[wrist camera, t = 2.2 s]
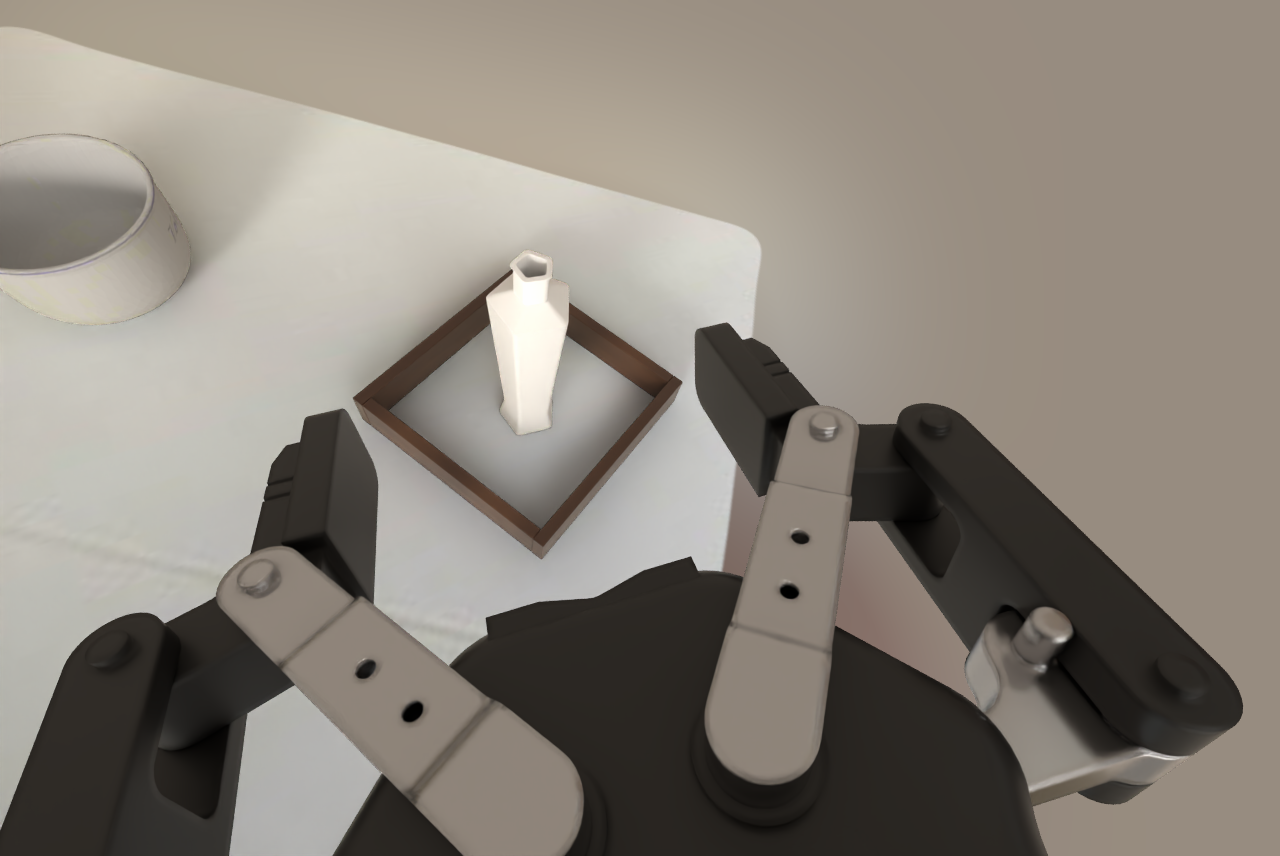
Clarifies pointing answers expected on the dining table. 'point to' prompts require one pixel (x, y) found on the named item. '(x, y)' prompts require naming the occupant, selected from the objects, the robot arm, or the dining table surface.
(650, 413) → the walnut frame
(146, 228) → the teacup
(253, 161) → the dining table surface
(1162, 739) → the robot arm
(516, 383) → the perfume bottle
